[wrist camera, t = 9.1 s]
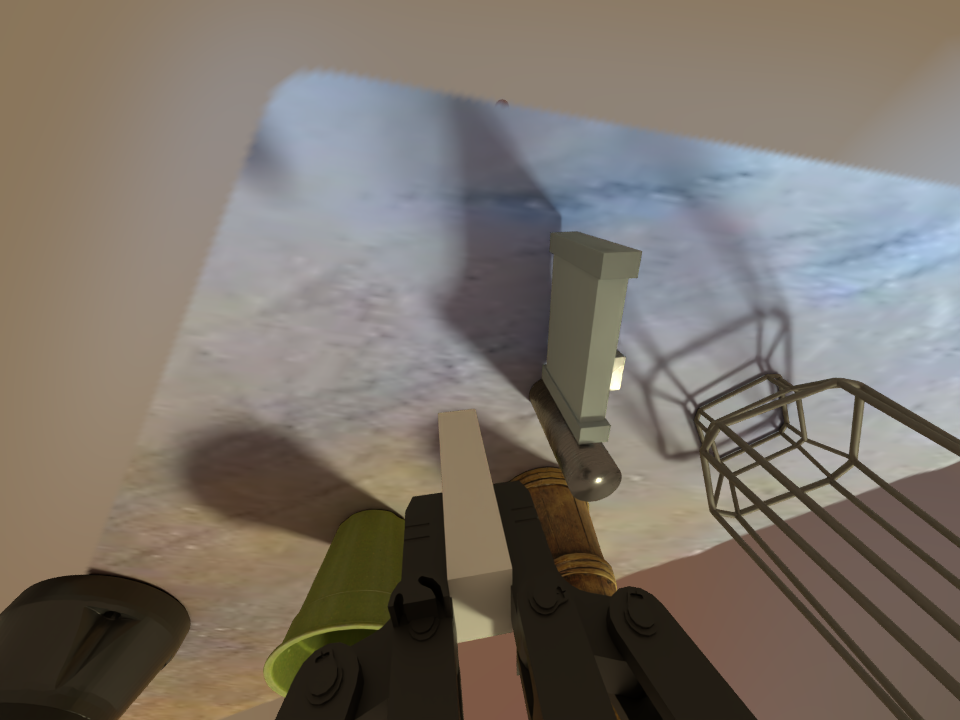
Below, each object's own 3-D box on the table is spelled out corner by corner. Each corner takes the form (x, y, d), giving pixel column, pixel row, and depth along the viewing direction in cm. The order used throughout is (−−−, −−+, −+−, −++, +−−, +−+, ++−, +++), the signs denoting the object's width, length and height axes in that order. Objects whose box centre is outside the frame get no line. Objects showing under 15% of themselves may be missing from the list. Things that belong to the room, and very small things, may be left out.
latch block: (560, 352, 28) (590, 392, 22) (563, 325, 26) (594, 359, 21) (584, 350, 28) (619, 389, 22) (587, 323, 27) (625, 356, 21)
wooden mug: (536, 559, 40) (602, 808, 24) (482, 491, 34) (523, 763, 18) (606, 528, 39) (725, 768, 23) (563, 452, 33) (685, 706, 17)
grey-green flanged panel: (563, 376, 27) (607, 441, 20) (541, 377, 27) (578, 444, 20) (577, 231, 22) (642, 251, 15) (550, 232, 22) (604, 253, 15)
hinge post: (528, 410, 30) (567, 504, 21) (529, 379, 28) (572, 465, 19) (564, 407, 30) (617, 498, 21) (566, 375, 29) (625, 459, 20)
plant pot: (353, 580, 38) (323, 722, 28) (289, 515, 32) (223, 662, 22) (452, 546, 37) (458, 679, 27) (404, 474, 32) (389, 606, 22)
